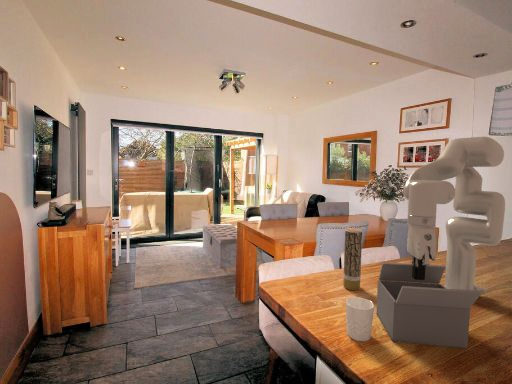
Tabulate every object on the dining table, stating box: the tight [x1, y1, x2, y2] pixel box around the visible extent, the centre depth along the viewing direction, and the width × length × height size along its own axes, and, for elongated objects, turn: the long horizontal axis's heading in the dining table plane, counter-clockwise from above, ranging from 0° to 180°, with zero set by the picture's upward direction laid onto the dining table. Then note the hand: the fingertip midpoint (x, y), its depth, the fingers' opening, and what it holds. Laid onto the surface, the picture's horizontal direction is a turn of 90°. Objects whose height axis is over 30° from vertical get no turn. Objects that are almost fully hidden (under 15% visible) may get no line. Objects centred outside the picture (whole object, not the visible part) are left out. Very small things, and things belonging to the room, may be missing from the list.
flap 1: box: [378, 262, 446, 284], centre depth 93 cm, size 8×19×1 cm
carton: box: [376, 279, 471, 349], centre depth 87 cm, size 20×16×12 cm
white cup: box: [345, 296, 375, 342], centre depth 84 cm, size 8×8×10 cm
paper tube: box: [342, 227, 363, 291], centre depth 118 cm, size 7×7×25 cm
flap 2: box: [396, 286, 482, 310], centre depth 76 cm, size 8×19×1 cm
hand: (418, 278), depth 88 cm, fingers closed
